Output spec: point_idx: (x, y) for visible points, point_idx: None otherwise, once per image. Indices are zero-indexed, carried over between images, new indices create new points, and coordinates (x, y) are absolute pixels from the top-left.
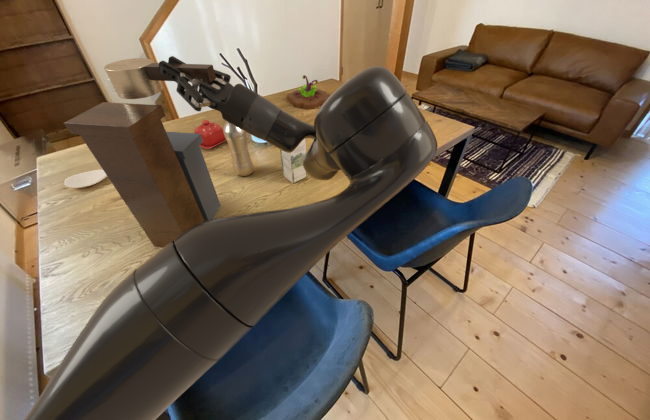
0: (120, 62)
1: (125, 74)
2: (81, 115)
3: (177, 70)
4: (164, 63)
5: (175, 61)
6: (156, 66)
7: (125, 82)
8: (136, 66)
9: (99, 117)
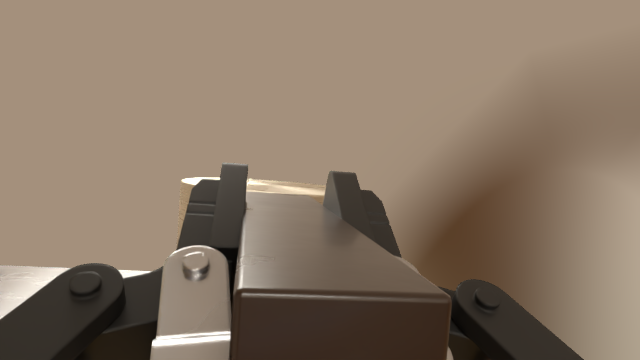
0: (284, 183)
1: (184, 199)
2: (56, 270)
3: (213, 228)
4: (222, 174)
5: (333, 198)
6: (251, 197)
7: (179, 228)
8: None
9: (11, 293)
